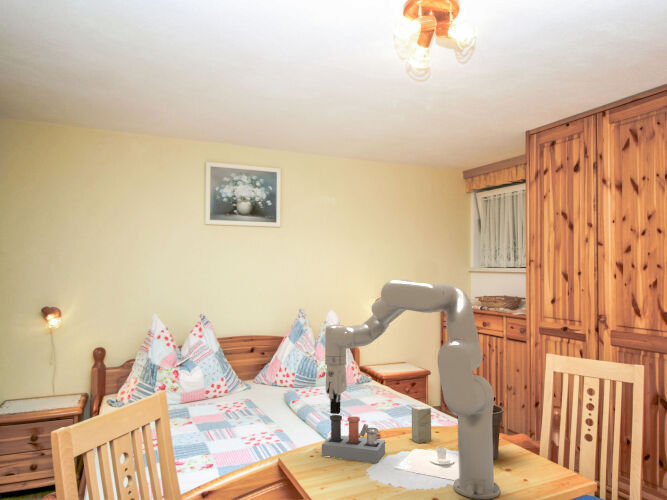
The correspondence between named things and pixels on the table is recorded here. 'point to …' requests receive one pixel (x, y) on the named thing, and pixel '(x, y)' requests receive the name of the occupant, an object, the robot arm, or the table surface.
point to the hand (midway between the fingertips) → (335, 412)
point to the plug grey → (372, 436)
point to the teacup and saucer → (434, 463)
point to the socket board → (354, 450)
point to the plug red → (353, 429)
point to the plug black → (335, 427)
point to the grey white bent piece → (363, 430)
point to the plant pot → (496, 428)
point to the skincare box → (421, 424)
